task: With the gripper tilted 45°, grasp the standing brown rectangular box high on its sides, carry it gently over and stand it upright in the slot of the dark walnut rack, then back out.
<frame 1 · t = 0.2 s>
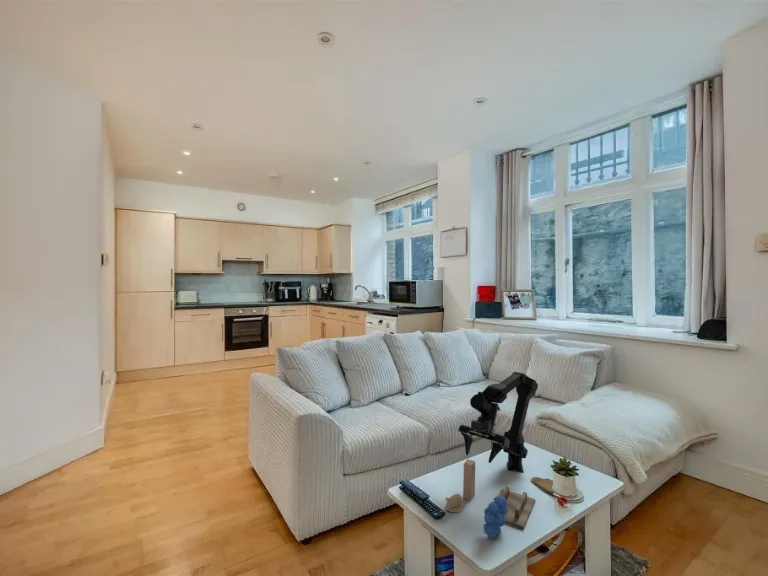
hand: (477, 458, 137), 14 cm above the table, tool tilted 35°, fingers open, 9 cm apart
brown rectangular box: (469, 496, 137), on the table
walnut rack: (511, 508, 130), on the table
decorative ornament: (453, 509, 130), on the table
pottery shard: (549, 489, 143), on the table
grapes: (493, 533, 117), on the table
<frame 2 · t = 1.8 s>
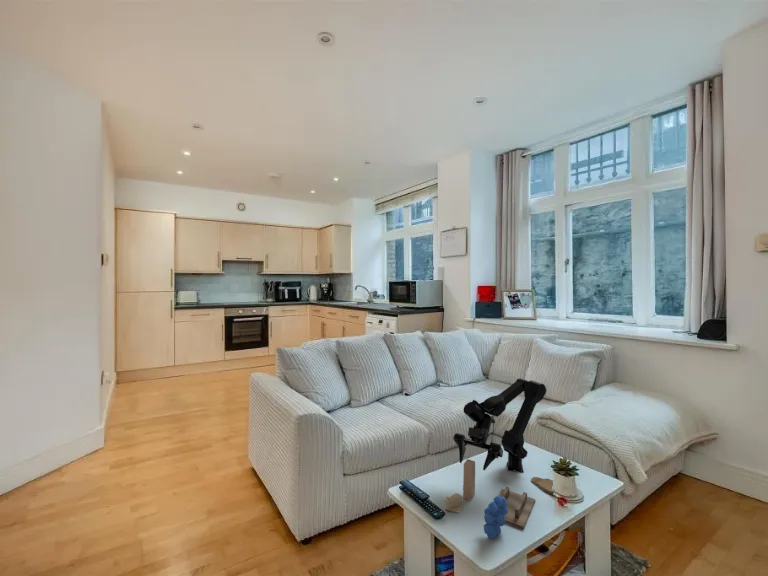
hand: (471, 466, 139), 10 cm above the table, tool tilted 45°, fingers open, 9 cm apart
nothing on the table moved.
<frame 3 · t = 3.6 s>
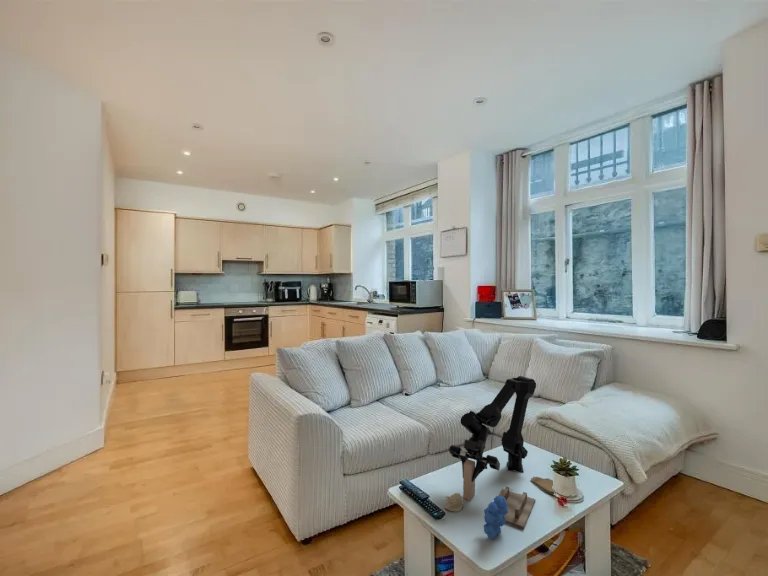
hand: (467, 479, 135), 7 cm above the table, tool tilted 45°, fingers closed on brown rectangular box, 3 cm apart
brown rectangular box: (469, 496, 137), on the table, touching gripper
everything else where it was.
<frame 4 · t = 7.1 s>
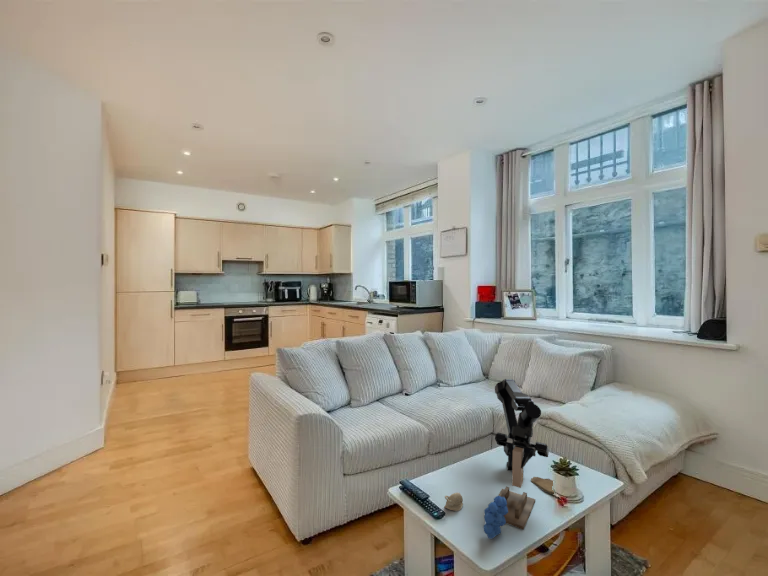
hand: (517, 466, 134), 13 cm above the table, tool tilted 45°, fingers closed on brown rectangular box, 3 cm apart
brown rectangular box: (517, 484, 136), point 5 cm above the table, touching gripper
everything else where it was.
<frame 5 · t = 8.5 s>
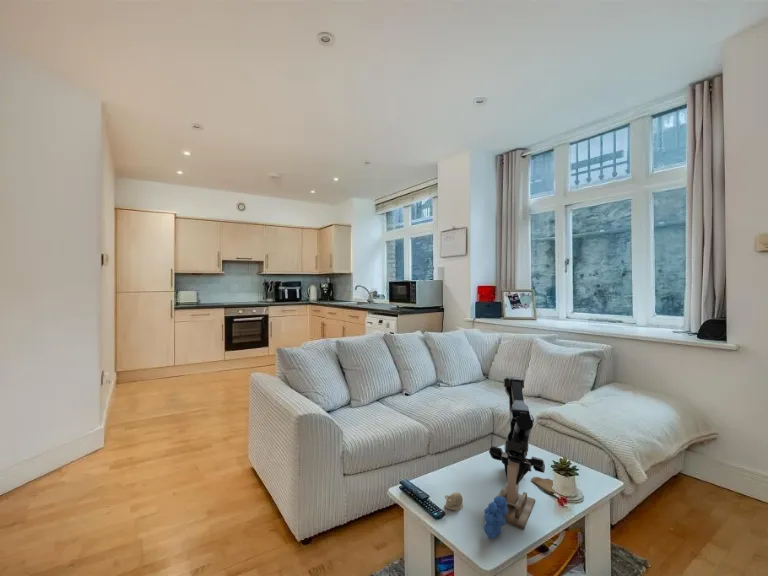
hand: (511, 482, 129), 10 cm above the table, tool tilted 45°, fingers closed on brown rectangular box, 3 cm apart
brown rectangular box: (512, 500, 130), point 3 cm above the table, touching gripper
when the fingers open (9 cm above the table, at t = 9.0 s): brown rectangular box drops 1 cm, resting on walnut rack.
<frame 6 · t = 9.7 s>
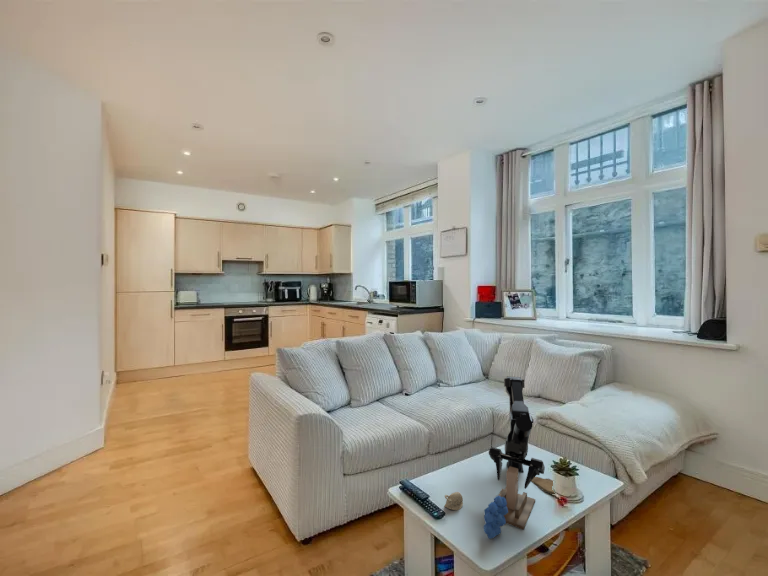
hand: (511, 484, 128), 10 cm above the table, tool tilted 45°, fingers open, 9 cm apart
brown rectangular box: (511, 505, 130), point 1 cm above the table, touching walnut rack
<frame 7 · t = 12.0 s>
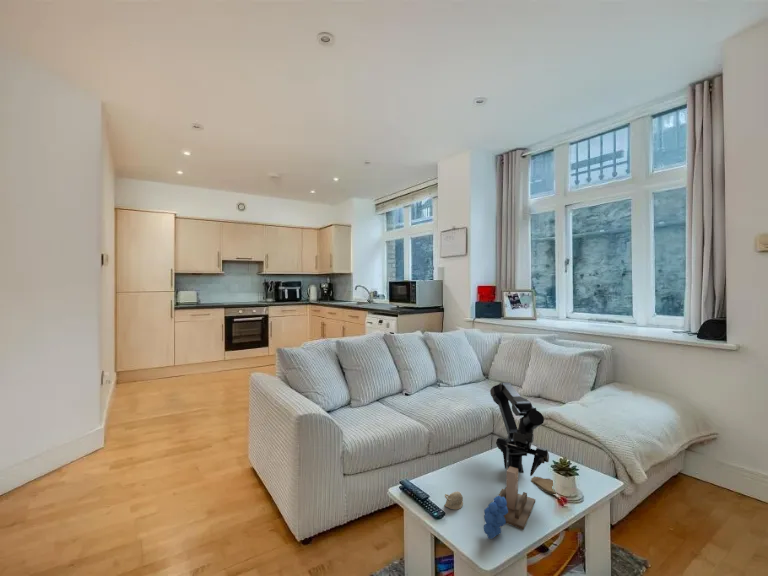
hand: (517, 471, 136), 10 cm above the table, tool tilted 45°, fingers open, 9 cm apart
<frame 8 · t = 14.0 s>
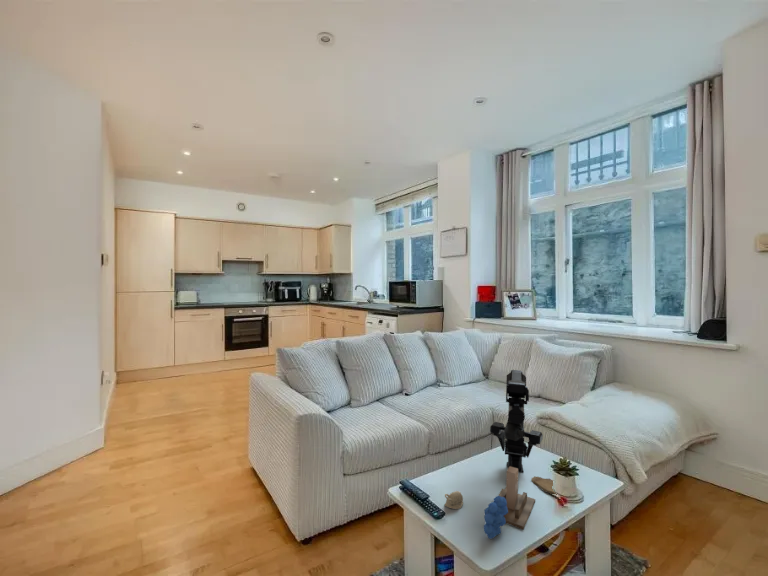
hand: (515, 453, 143), 13 cm above the table, tool pointing down, fingers open, 9 cm apart
at the end: brown rectangular box inside the target area on the walnut rack (0.1 cm from its centre), point 1.0 cm above the walnut rack's base; brown rectangular box tilted 0°; the gripper is holding nothing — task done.
